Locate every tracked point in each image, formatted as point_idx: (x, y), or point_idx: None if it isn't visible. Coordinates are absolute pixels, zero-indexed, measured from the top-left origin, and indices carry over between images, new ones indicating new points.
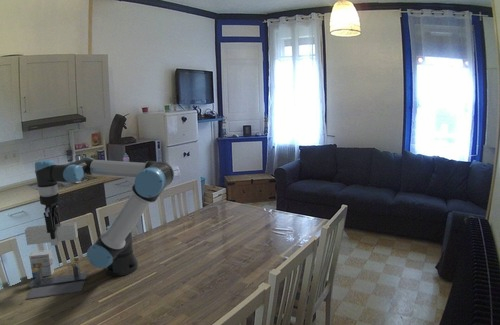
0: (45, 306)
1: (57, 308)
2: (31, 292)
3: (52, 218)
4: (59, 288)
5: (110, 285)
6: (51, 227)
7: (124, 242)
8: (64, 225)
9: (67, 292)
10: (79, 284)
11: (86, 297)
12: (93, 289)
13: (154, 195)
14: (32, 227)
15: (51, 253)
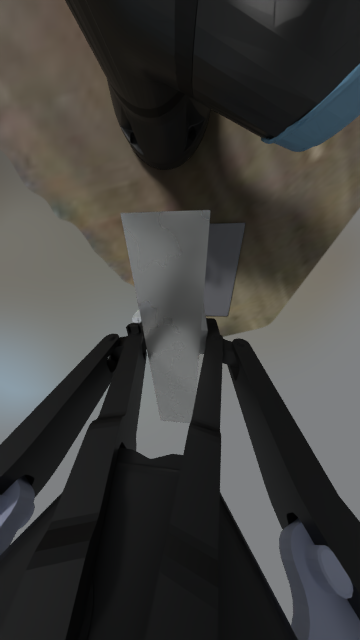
0: (264, 282)
1: (284, 259)
2: (212, 313)
3: (219, 421)
4: (217, 272)
5: (252, 133)
6: (259, 369)
7: None
8: (191, 301)
9: (239, 253)
10: (217, 233)
11: (277, 203)
12: (249, 191)
13: None
14: (170, 412)
15: (137, 312)
